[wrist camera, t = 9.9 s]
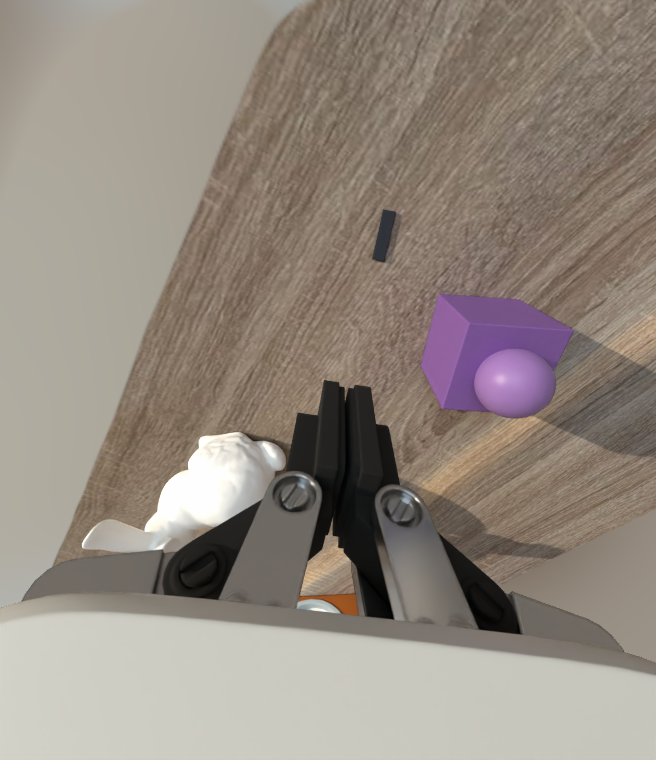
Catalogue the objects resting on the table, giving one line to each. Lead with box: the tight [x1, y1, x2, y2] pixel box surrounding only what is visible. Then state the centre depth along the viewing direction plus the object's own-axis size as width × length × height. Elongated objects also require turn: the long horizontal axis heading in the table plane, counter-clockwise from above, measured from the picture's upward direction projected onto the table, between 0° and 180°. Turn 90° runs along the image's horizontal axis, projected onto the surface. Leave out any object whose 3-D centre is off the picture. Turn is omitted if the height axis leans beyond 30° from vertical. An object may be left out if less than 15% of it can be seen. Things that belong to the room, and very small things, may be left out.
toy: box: [421, 294, 574, 418], centre depth 20 cm, size 6×6×9 cm
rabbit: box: [82, 432, 286, 553], centre depth 25 cm, size 12×9×12 cm
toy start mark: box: [372, 210, 396, 261], centre depth 20 cm, size 3×1×1 cm, turn 171°
